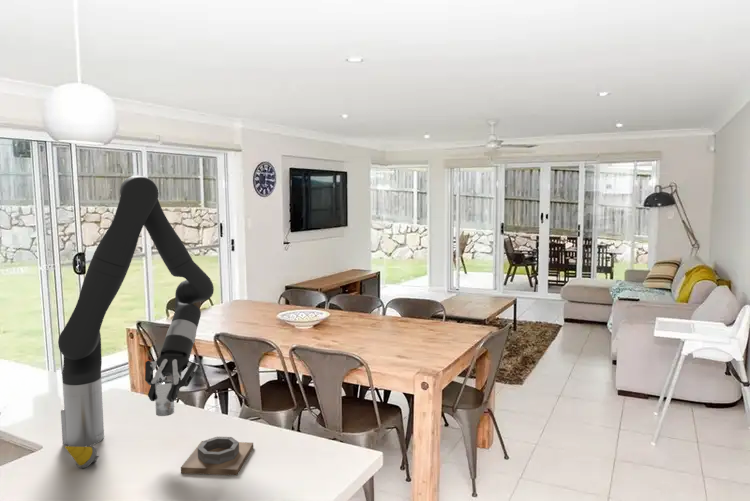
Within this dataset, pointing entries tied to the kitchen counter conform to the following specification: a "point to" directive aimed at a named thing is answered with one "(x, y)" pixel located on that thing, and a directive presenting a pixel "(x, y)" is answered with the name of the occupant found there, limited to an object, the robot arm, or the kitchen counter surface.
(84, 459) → the drill bit
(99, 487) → the kitchen counter surface
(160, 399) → the steel peg
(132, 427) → the kitchen counter surface
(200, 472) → the socket board
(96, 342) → the robot arm
